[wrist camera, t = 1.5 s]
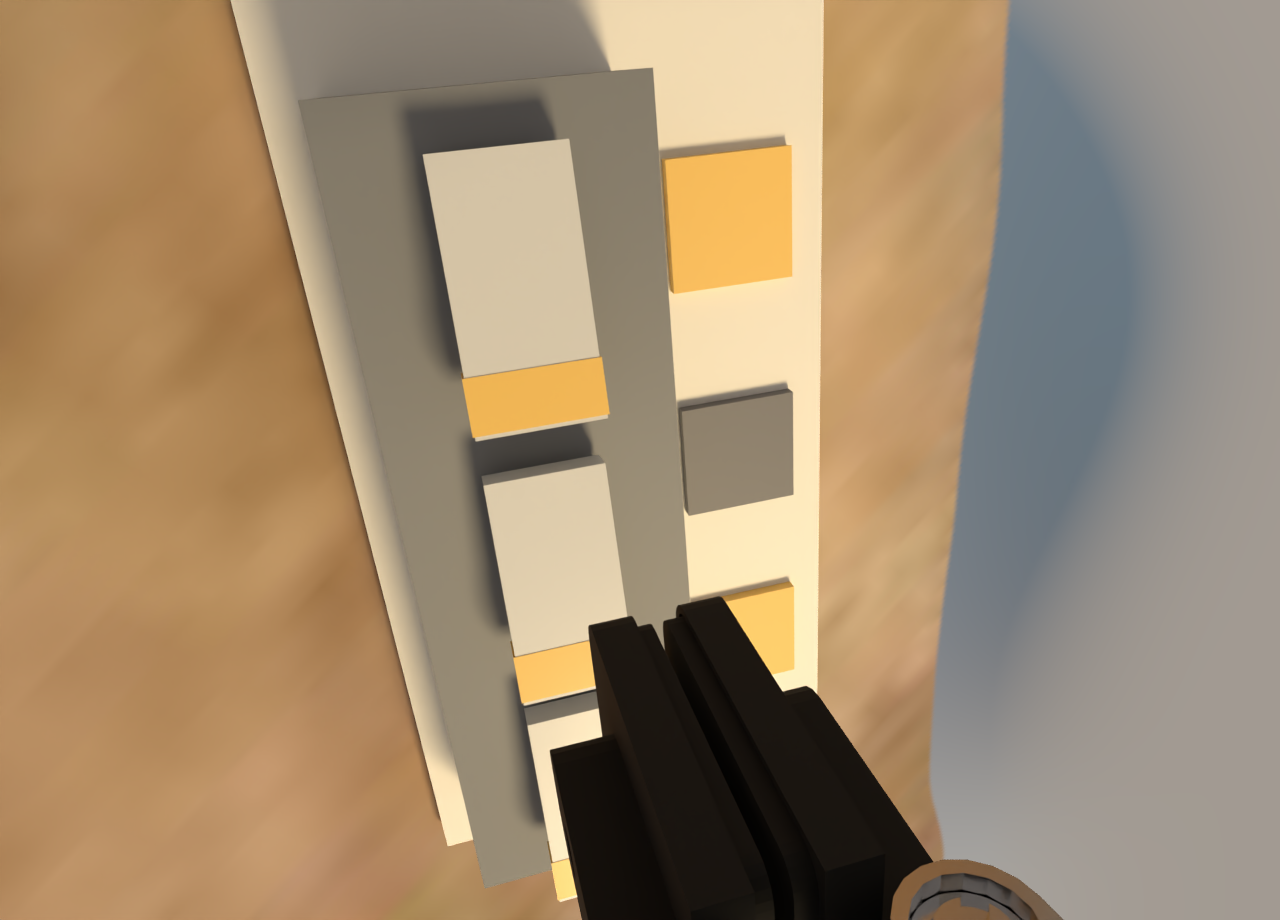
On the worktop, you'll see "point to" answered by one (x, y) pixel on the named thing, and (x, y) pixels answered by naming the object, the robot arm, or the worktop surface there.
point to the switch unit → (623, 312)
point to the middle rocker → (555, 569)
